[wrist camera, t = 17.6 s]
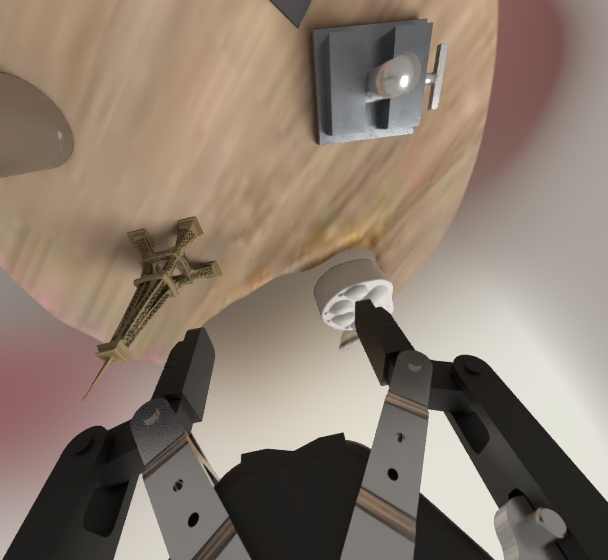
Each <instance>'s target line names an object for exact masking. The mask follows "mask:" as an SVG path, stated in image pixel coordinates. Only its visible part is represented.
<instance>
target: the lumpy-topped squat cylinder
mask: <svg viewBox="0 0 608 560" xmlns="http://www.w3.org/2000/svg"><path fill="white" fill-rule="evenodd" d="M392 291H393V286H392V283H391V282H390V281H389V279H388V278H387V277H386V276H385V274H384V273H383V272H382V271H381V270H380V268H379V267H378V266H377V265H376V264H375V262H374V261H372V260H370V259H358V260H353V261H349V262H345V263H343V264H339V265H337V266H334V267H332V268H331V269H329V270H328V271H327V272H326V273H325V274H324V275H323V276H321V277H320V279H319V280H318V281H317V283H316V285H315V288H314V296H315V299H316V302H317V306H318V309H319V312H320V315H321V318H322V320H323V322H324V323H325V324H327V325H329V326H330V327H332V328H335V329H341V330H356V328H355V302H356V301H360V300H365V299H370V300H371V301H372V303H373V304H374V306H375V308H376V307H382V308H384V309H385V310H387V311H388V312H389V313H390V314H391V313H392V312H393V309H394V307H393V302H392Z"/></svg>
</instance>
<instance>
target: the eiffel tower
mask: <svg viewBox="0 0 608 560" xmlns="http://www.w3.org/2000/svg"><path fill="white" fill-rule="evenodd" d="M178 223H179V232H178V236H177V241H176V245H175V247H173V248H170V249H168V250H165V251H162V252H153V250H152V248H151V247H154V245H155V244H154V242H153V241H152V239H151V237H150V236H149V234H148V232H147V231H146V229H142V230H138V231H134V232H130V233H127V235H128V236H129V238H130V239H131V241H132V243H133V244H134V246H135V247H136V249H137V250H138V252H139V254H140V256H141V258H142V259H143V260H141V261H138V262H139V263H140V264H141V265H142V268H143V270H142V274H141V278H139V279H136V280H134V285H135V286H136V287H137V290H136V292H135V294H134V296H133V298H132V300H131V302H130V304H129V306H128V308H127V310H126V312H125V314H124V316H123V318H122V320H121V322H120V324H119V326H118V328H117V330H116V332H115V334H114V335H113V337H112V339H111V341H110V342H109V343H105V344H101V345H97V347H98V350H99V352H98V353H96V354H95V355H96V356H97V357H98V358H100V359H101V360H102V361H103V362H104V365H103V367H102V368H101V370H100V372H99V373H98V375H97V377H96V379H95V380H94V382H93V383H92V386H91V388H90V389H89V391H88V392H87V394H86V395H85V397H84V398H83V400H82V402H83V401H84V400H85V398H86V396H87V395H88V393H89V392H90V390H91V389H92V387H93V386H94V385H95V384H96V382H97V381H98V380H99V378H100V377H101V375H102V374H103V373H104V371H105V370H106V369H107V367H108V366H110V365H114V364H118V363H122V362H126V361H127V360H126V358H128V357H130V356H132V355H134V354H133V353H132V352H131V351H130V350H129V349H128V348H129V346H130V345H131V344H132V343H133V341H134V340H135V339H136V338H137V337H138V335H139V334H140V333H141V332H142V330H143V329H144V328H145V327H146V325H147V324H148V323H149V322H150V320H151V319H152V318H153V317H154V316H155V314H156V313H157V312H158V311H159V310H160V308H161V307H162V306H163V305H164V303H165V302H166V301H167V300H168V299H169V298H172V297H176V296H177V295H179V293H178V291H177V290H178V289H179V288H180V287H182V286H183V285H185V284H191V283H193V281H192V280H194V279H199V278H211V277H215V276H220V275H222V272H221V270H220V268H219V266H218V264H217V262H216V261H214V262H209V263H205V264H201V265H200V268H198V269H192V267H191V266H190V265H189V263H188V261H187V259H186V256H185V253H184V250H185V248H186V247H187V246H188V245H189V244H190V243H191V242H192V241H193V240H194V239H195V238H196V237H197V236H200V235H201V234H203V231H202V229H201V227H200V225H199V222H198V220H197V218H196V217H193V218H188V219H184V220H180V221H178ZM162 262H166V263H165V265H164V267H163V269H162V271H161V270H160V268H159V266H158V263H162ZM175 265H176V266H177V268H178V269H179V271H180V273H181V275H178V276H173V274H172V272H173V270H174V268H175Z"/></svg>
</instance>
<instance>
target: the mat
mask: <svg viewBox="0 0 608 560" xmlns="http://www.w3.org/2000/svg"><path fill="white" fill-rule="evenodd" d="M270 1H271V2H272V3H273V4H274V5H275V6H276V7H277V8H278V9H279V10H280V11H281V12H282V13H283V14H284V15H285V16H286V17H287V18H288V19H289V20H290V21H291V22H292V23H293V24H294V25H295V26H296V27H297V28H298V27H299V25H300V23H301V21H302V19H303V17H304V15H305V13H306V11H307V9H308V6H309V4H310V2H311V0H270Z"/></svg>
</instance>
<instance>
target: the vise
mask: <svg viewBox="0 0 608 560" xmlns="http://www.w3.org/2000/svg"><path fill="white" fill-rule="evenodd" d="M432 27H433V22H432V23H427V19H418V20H408V21H398V22H387V23H377V24H367V25H357V26H347V27H337V28H327V29H317V30H313V32H312V34H311V38H312V55H313V71H314V87H315V104H316V120H317V136H318V145H326V144H333V143H341V142H349V141H356V140H364V139H372V138H379V137H387V136H395V135H403V134H410V133H413V128H414V126H418V125H419V121H420V114H421V107H422V100H423V92H424V86H431V91H430V98H429V104H428V110H429V109H437V108H438V102H439V96H440V90H441V84H442V78H443V72H444V66H445V61H446V55H447V49H448V43H441V44H439V45H437V51H436V58H435V64H434V71H433V73H426V71H427V63H428V56H429V49H430V42H431V34H432Z"/></svg>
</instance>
